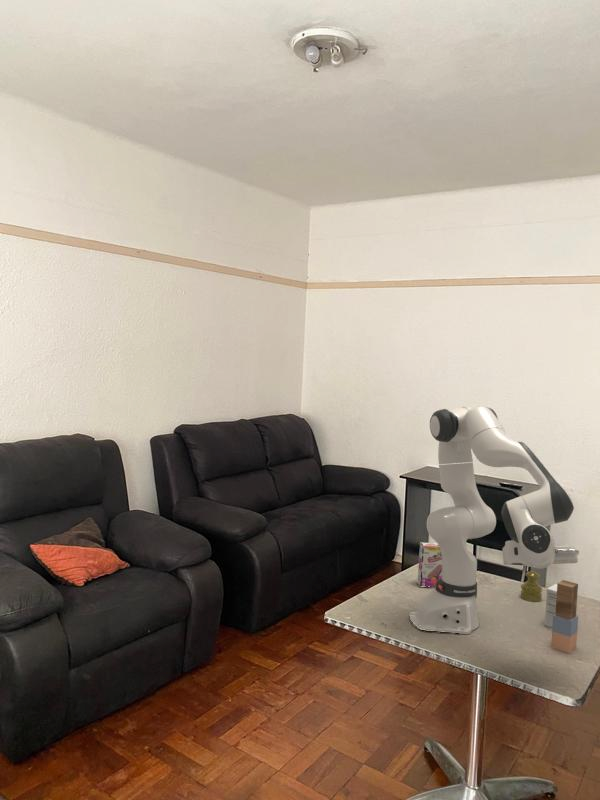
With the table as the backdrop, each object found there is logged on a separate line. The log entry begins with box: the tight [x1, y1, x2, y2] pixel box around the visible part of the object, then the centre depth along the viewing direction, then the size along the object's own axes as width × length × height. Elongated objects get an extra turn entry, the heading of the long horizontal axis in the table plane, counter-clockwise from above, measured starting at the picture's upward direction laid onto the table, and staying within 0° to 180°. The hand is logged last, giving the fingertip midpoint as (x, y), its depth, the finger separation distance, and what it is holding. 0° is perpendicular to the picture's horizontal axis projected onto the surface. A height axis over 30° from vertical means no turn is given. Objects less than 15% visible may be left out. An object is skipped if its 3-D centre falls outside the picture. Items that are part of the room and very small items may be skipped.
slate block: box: [551, 614, 579, 637], centre depth 194 cm, size 6×6×5 cm
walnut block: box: [555, 579, 579, 620], centre depth 194 cm, size 4×4×10 cm
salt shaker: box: [520, 570, 543, 603], centre depth 234 cm, size 7×7×10 cm
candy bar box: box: [417, 542, 442, 587], centre depth 243 cm, size 11×5×16 cm, turn 94°
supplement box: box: [544, 583, 557, 628], centre depth 210 cm, size 7×7×13 cm
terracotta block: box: [550, 630, 578, 654], centre depth 195 cm, size 6×6×5 cm
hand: (540, 561), depth 187 cm, fingers open, 8 cm apart
